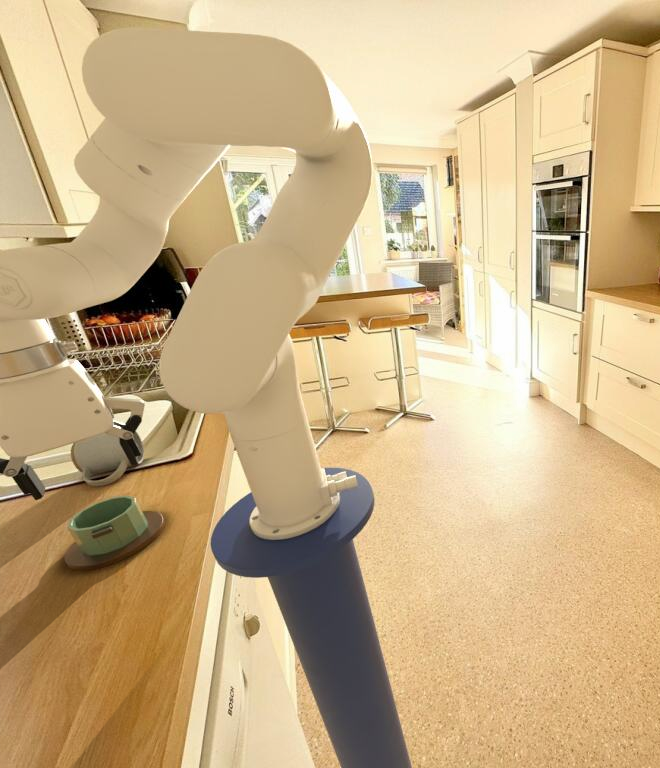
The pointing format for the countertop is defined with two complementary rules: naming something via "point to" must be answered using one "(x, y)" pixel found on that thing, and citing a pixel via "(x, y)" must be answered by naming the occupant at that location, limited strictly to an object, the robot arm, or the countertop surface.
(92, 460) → the ceramic mug
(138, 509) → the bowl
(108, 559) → the turntable
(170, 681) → the countertop surface
